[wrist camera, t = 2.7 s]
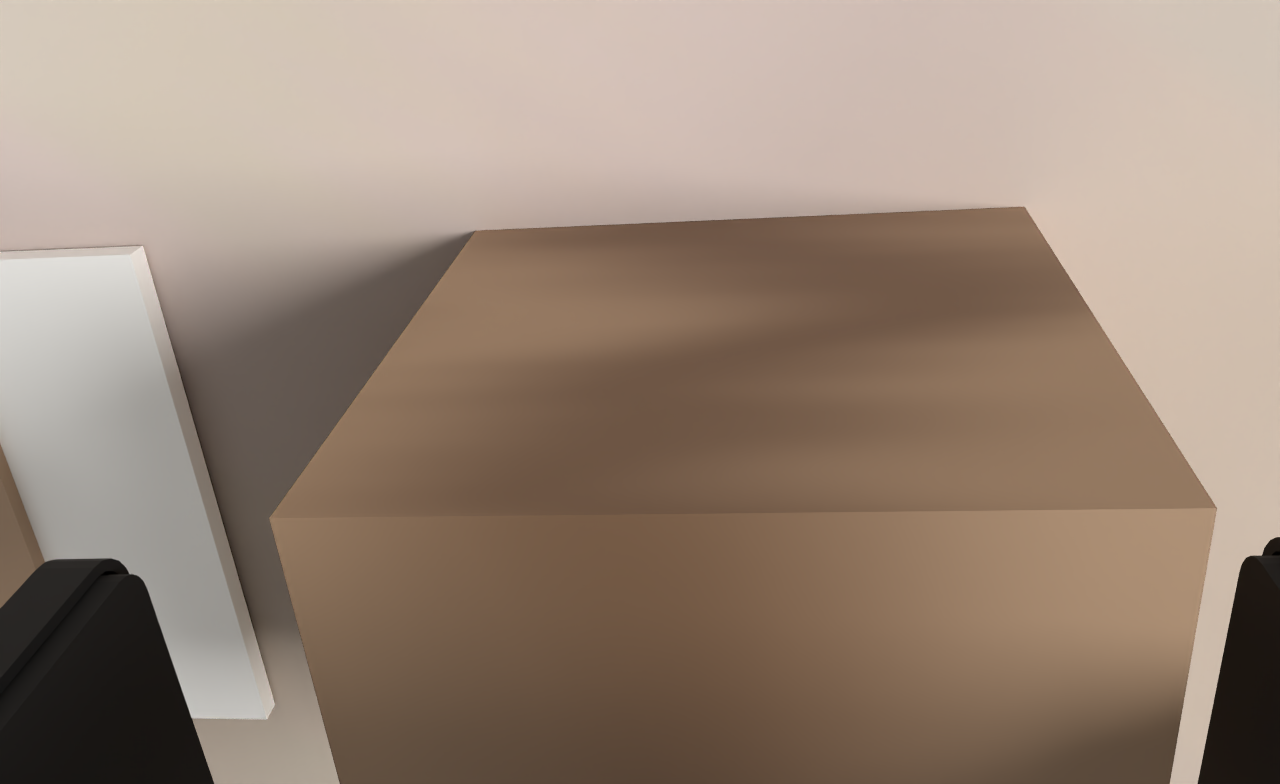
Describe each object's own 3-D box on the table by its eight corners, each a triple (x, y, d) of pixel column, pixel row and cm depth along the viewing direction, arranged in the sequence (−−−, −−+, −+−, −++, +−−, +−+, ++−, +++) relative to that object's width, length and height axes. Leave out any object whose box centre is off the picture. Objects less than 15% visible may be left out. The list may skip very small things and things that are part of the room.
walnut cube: (1023, 204, 12) (1218, 508, 7) (990, 649, 15) (1112, 1116, 9) (477, 228, 13) (267, 517, 8) (540, 647, 16) (418, 1077, 10)
